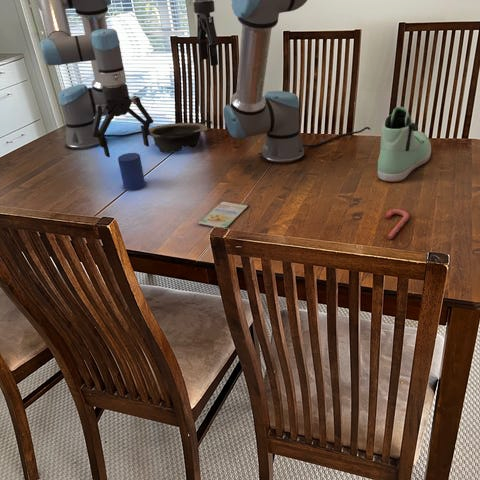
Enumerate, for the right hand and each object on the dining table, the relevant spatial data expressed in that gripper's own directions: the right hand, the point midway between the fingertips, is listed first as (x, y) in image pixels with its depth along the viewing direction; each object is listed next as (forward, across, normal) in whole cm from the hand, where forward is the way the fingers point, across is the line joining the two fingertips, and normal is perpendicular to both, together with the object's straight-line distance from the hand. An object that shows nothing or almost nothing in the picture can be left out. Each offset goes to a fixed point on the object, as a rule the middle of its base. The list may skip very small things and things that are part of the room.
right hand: (209, 62), depth 184 cm
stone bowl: (+30, +1, -17) cm, 34 cm away
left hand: (+18, +32, -39) cm, 53 cm away
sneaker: (+30, +58, +49) cm, 82 cm away
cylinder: (+30, +32, -39) cm, 59 cm away
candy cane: (+30, +93, +22) cm, 100 cm away
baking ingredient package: (+30, +66, -18) cm, 75 cm away
